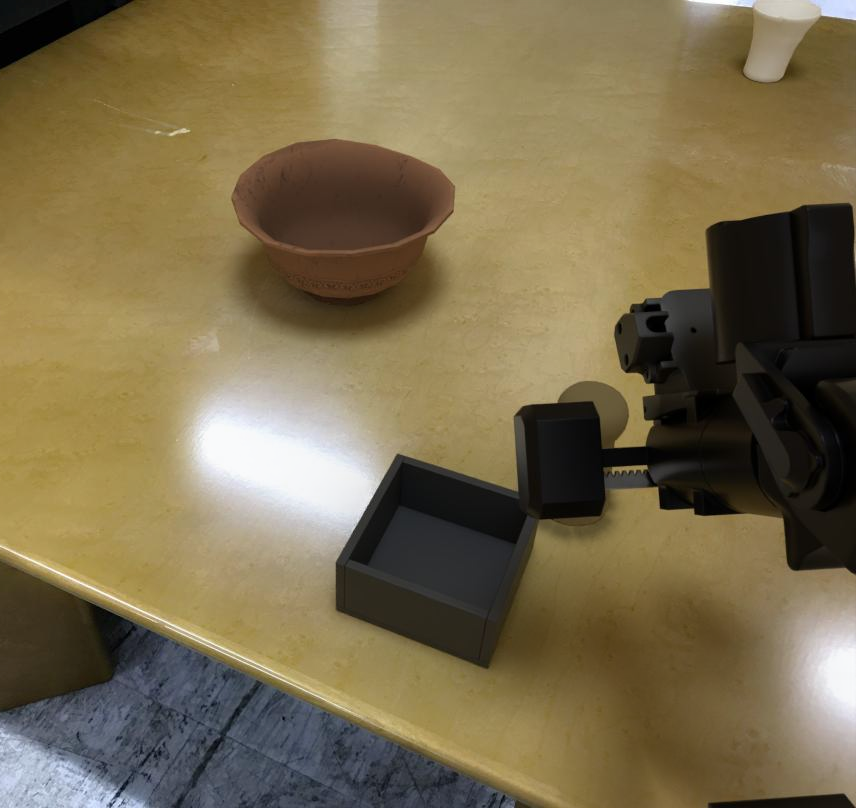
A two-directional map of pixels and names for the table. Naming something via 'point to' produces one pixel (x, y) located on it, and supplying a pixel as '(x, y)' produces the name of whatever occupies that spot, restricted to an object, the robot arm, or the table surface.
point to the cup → (777, 36)
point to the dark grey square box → (437, 559)
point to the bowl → (342, 215)
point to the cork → (611, 422)
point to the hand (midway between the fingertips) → (632, 451)
